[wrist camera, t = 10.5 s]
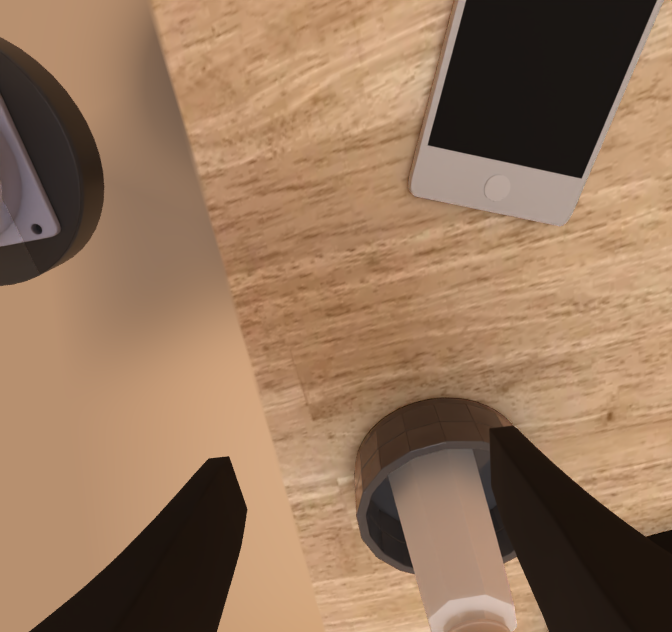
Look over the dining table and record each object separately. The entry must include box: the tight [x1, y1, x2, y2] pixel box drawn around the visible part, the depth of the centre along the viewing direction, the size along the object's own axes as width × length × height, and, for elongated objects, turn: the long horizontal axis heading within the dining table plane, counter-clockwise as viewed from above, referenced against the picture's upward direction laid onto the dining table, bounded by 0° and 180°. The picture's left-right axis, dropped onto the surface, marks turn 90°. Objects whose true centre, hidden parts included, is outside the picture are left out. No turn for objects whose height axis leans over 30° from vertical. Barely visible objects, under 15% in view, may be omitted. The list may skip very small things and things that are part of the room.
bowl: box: [354, 398, 517, 574], centre depth 23 cm, size 10×10×4 cm
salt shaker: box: [388, 449, 517, 632], centre depth 19 cm, size 5×5×11 cm
